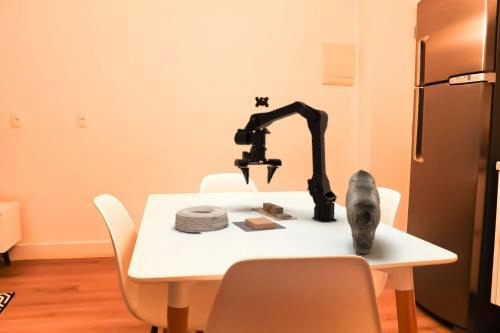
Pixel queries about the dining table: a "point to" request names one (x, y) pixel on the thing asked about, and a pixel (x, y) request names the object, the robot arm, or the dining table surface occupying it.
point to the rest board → (270, 214)
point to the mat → (250, 229)
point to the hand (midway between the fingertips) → (258, 183)
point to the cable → (201, 218)
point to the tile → (260, 223)
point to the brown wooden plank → (275, 210)
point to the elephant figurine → (363, 210)
